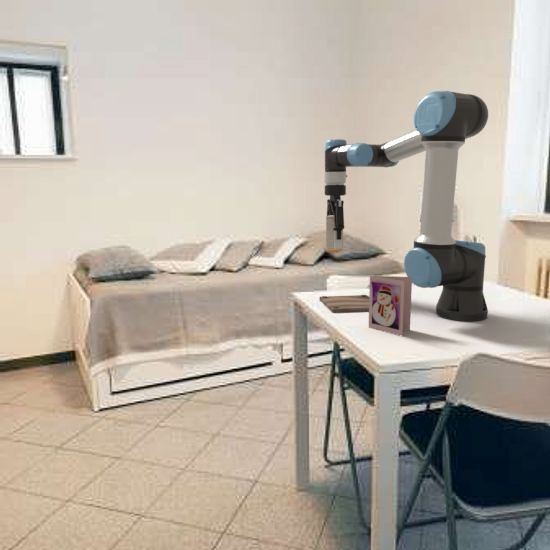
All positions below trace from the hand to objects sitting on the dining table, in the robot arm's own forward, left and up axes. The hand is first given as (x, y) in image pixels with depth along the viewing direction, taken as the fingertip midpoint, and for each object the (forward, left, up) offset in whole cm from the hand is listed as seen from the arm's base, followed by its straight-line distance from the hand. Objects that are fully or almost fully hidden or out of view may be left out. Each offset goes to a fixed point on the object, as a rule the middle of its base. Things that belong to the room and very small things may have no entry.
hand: (334, 247), depth 192 cm
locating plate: (-18, -1, -17) cm, 25 cm away
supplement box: (0, 0, -2) cm, 2 cm away
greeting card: (-49, -4, -18) cm, 52 cm away
